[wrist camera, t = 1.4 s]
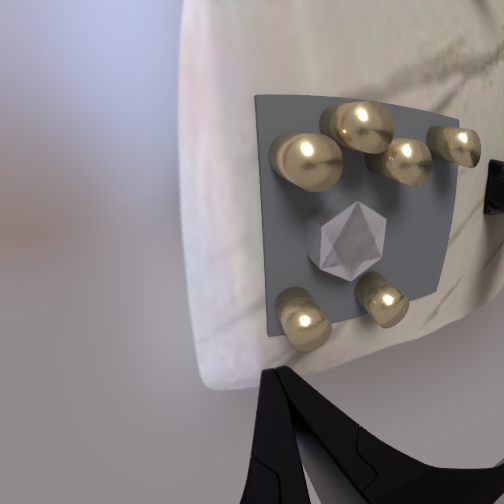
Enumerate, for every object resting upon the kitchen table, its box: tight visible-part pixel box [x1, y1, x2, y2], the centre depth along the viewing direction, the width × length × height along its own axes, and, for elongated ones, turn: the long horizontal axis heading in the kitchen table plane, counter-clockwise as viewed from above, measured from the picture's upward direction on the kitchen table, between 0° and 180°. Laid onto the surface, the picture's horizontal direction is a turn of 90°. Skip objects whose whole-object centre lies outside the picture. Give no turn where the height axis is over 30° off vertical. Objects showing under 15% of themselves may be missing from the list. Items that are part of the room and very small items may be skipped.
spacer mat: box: [254, 95, 459, 337], centre depth 20 cm, size 19×18×1 cm
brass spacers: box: [268, 101, 481, 352], centre depth 18 cm, size 16×16×4 cm
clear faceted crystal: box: [306, 192, 386, 281], centre depth 19 cm, size 6×5×2 cm
